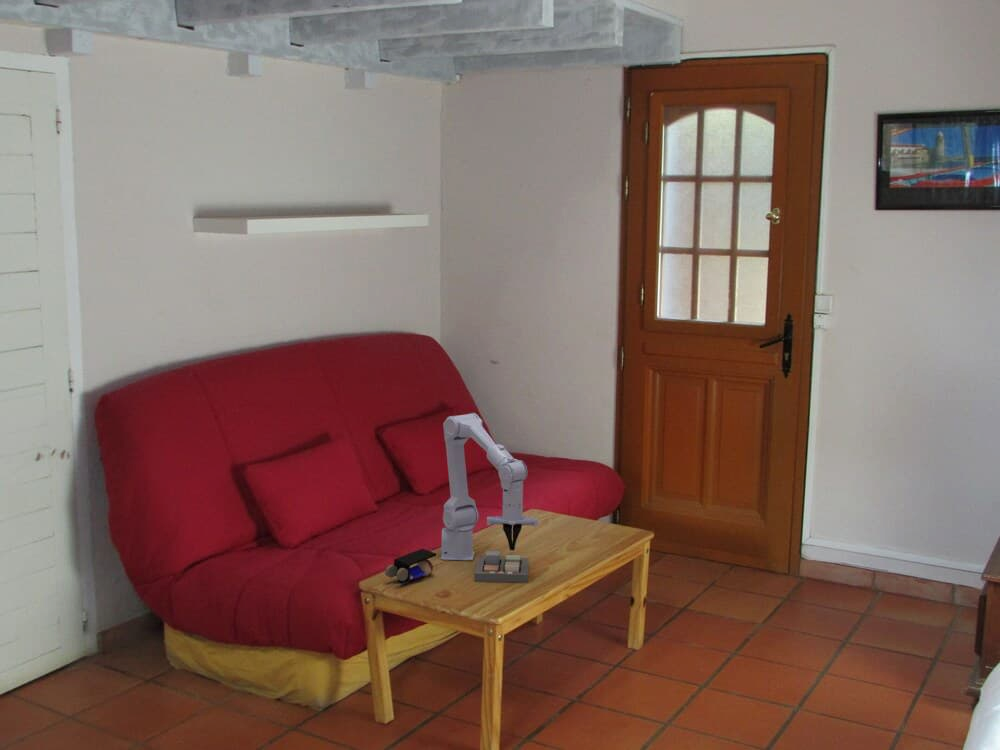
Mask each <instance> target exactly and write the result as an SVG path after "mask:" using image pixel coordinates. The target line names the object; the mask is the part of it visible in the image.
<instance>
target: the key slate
mask: <svg viewBox="0 0 1000 750" xmlns="http://www.w3.org/2000/svg"><path fill="white" fill-rule="evenodd" d="M500 556H501V552H500V551H499V550H497V551H495V550H486V552H485V555H484V557H485V565H499V564H500Z"/></svg>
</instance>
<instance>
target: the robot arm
mask: <svg viewBox="0 0 1000 750" xmlns="http://www.w3.org/2000/svg"><path fill="white" fill-rule="evenodd" d="M442 424H443V425H442V427H443V435H444V437H443V438H444V442H445V448H446V461H447V472H448V482H449V484H448V485H449V493H450V494H449V495H450V497H449V498H448V499H447V500H446V502H445V503H444V505H443V514H442V521H443V525H444V526H445V527H442V530H441V547H440V551H441V560H445V561H473V560H474V556H475V553H476V552H475V551H474V550H473V531H474V530H473V529H474V528H476V527H475V525H476V524H477V523H478V521H479V511H478V509H477V506H476V500H474V499H473V498H472V497H470V496H469V488H468V479H467V478H468V477H467V467H466V457H465V447H464V445H465V444H466V443H467V441H468V440H469V439H470V438H471V439H472V440H473V441H474V442H476V444H478V445H479V446H480V448H482V449H483V450H484V451H485V452H486V459H487V460H488V461H489V463H490V464H492V465H493V467H495V469H496V470H497V471H498V472H497V473H498V477H499V480H500V486H501V489H502V515H500V516H499V515H498V516H497V515H496V516H487V517H486V525H487V526H491V525H494V526H495V525H497V526H500V525H501V526H502V530H503V532H504V535H505V536H506V539H507V544H508V547H509V551H515V549H516V543H517V539H518V537H519V535H520V533H521V532H522V531H521V530H522V527H523V526H533V527H538V526H539V517H531V516H524V515H523V513H524V512H523V511H524V510H523V508H524V507H523V506H524V504H523V503H524V498H523V497H524V481H525V480H526V479H527V477H528V467H527V465H526V463H525V462H524V461H523V460H521V459H520V460H519V459H516V458H514V457H513V456H512V454H511V453H510V452H508V450H507V449H506V447H505V446H504V445H502V444H498V443H497V444H496V443H495V441H494V440H493V439H492V437H491V436H490V435H489V434H488V432H487V431H486V429H485V428H484V427H483V425H484V424H483V420H482V418H480V417H479V415H478V414H476V412H471V413H467V414H460V415H459V414H458V415H451V416H450V415H449V416H447V418H446V419H445V420H444V422H443V423H442Z"/></svg>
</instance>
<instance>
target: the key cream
mask: <svg viewBox="0 0 1000 750" xmlns="http://www.w3.org/2000/svg"><path fill="white" fill-rule="evenodd" d="M505 572H519V562H505Z"/></svg>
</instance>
